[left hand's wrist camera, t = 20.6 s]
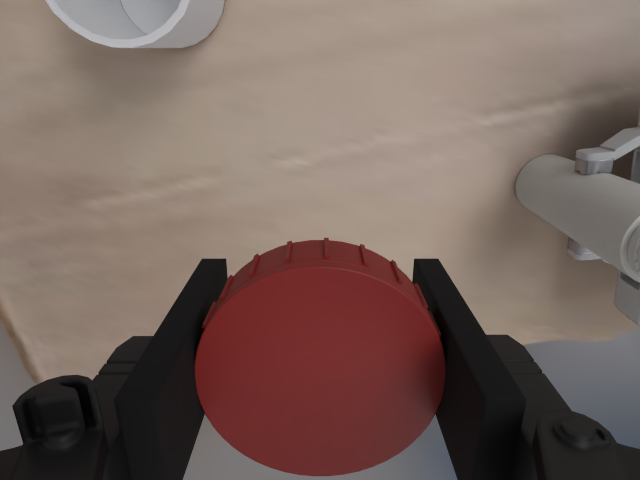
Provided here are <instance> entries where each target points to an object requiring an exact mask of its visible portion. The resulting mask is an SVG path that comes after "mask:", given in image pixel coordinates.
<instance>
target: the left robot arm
mask: <svg viewBox="0 0 640 480" xmlns="http://www.w3.org/2000/svg"><path fill="white" fill-rule="evenodd" d="M227 280H228V278H227V265H226V259H202V260H201V261H200V263H199V265H198V266H197V268H196V269H195V271H194V273H193V274H192V276H191V277H190V279H189V281H188V282H187V284H186V285H185V287H184V289H183V290H182V292H181V293H180V295H179V296H178V298H177V300H176V301H175V303H174V304H173V306H172V308H171V309H170V311H169V312H168V314H167V316H166V317H165V319H164V320H163V322H162V324H161V325H160V327H159V328H158V330H157V331H156V333H155V335H154V336H133V337H131V338H130V339H128V340H127V341H126V342H124V343H123V344H121V345H120V346H118V347H117V348H116V349H115V351H114V352H113V353H112V355H111V356H110V358H109V359H108V360H107V364H104V366H103V367H102V368H101V370H100V371H99V375H96V377H95V378H94V379H93V381H92V380H91V379H90V378H88V377H84V376H80V375H68V376H60V377H57V378H53V379H49V380H46V381H44V382H42V383H40V384H38V385H36V386H33V387H32V388H30V389H29V390H28V391H26V392H25V393H23V394H22V395H21V396H20V397H19V398H18V399H17V401H16V402H15V403H14V405H13V410H14V413H15V417H16V420H17V424H18V427H19V430H20V434H21V437H22V441H23V445H22V446H19V447H15V448H11V449H7V450H3V451H0V480H183V477H184V474H185V471H186V468H187V465H188V462H189V459H190V456H191V453H192V450H193V447H194V444H195V441H196V438H197V435H198V432H199V429H200V426H201V423H202V420H203V417H204V414H205V412H204V410H203V408H202V406H201V404H200V401H199V397H198V394H197V387H196V379H195V367H194V364H195V357H196V351H197V347H198V344H199V341H200V338H201V335H202V333H203V331H204V328H202V325H203V323H204V320H205V318H206V316H207V314H208V312H209V310H210V307H211V305H212V303H213V301H214V302H217V300H218V298H219V296H220V294H221V293H222V291H223V289H224V286H225V284H226V282H227ZM412 283H413V284H416V283H417V284H418V286H419V288H420V290H421V292H422V295H423V297H424V299H425V301H426V303H427V305H428V308H427V310H428V311H431V313H432V315H433V317H434V319H435V321H436V323H437V326H438V328H439V330H440V332H441V334H442V338H440V340H441V342H442V345H443V349H444V354H445V358H446V374H445V382H444V391H443V396H442V400H441V403H440V405H439V407H438V410H437V412H436V417H437V420H438V423H439V425H440V429H441V431H442V434H443V437H444V440H445V443H446V446H447V449H448V452H449V455H450V458H451V461H452V464H453V467H454V470H455V473H456V476H457V479H458V480H640V449H637V448H633V447H628V446H625V445H621V444H618V443H617V442H616V441H615V439H614V438H613V436H612V435H611V433H610V432H609V431H608V430H607V429H605V428H604V427H603V426H602V425H601V424H599V423H598V422H597V421H595V420H593V419H591V418H589V417H587V416H585V415H583V414H579V413H576V412H573V411H571V409H570V408H569V407H568V405H567V404H566V403H565V401H564V400H563V399H562V397H561V396H560V394H559V393H558V392H557V390H556V389H555V388H554V386H553V385H552V384H551V382H550V381H549V380H548V378H547V377H546V376H545V374H542V370H541V369H540V367H539V366H538V365H537V363H536V362H534V360H533V358H532V357H531V355H530V354H529V353H528V351H527V350H526V349H525V347H524V346H523V345H521V344H520V343H518V342H517V341H515V340H514V339H513V338H511V337H510V336H508V335H486V334H485V333H484V331H483V329H482V328H481V326H480V325H479V323H478V321H477V320H476V318H475V317H474V315H473V314H472V312H471V310H470V309H469V307H468V306H467V304H466V302H465V301H464V299H463V298H462V296H461V294H460V293H459V291H458V290H457V288H456V286H455V285H454V283H453V282H452V280H451V278H450V277H449V275H448V274H447V272H446V271H445V269H444V267H443V266H442V264H441V263H440V261H439V259H414V269H413V281H412Z"/></svg>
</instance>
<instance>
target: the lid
mask: <svg viewBox="0 0 640 480" xmlns="http://www.w3.org/2000/svg"><path fill="white" fill-rule="evenodd" d="M427 308H428V305H427V303H426V301H425V299H424V297H423V295H422V292H421V290H420V288H419V286H418V284H417V283H416V284H413V283H412V282H411V280H410V279H409V278H408V277H407V276H406V275H405V274H404V273H403V272H402V271H401V270H400V269H399V268H398V267H397V265H396V262H395V261H393V260H392V261H391V262H390V261H389V260H387V259H386V258H384V257H382V256H380V255H378V254H377V253H375V252H373V251H371V250H368V249H365V246H364V245H362V244H360V246H357V245H353V244H349V243H345V242H339V241H330V240H329V238H324V240H309V241H302V242H295V243H292V241H289V242H287V245H284V246H280V247H278V248H275V249H273V250H270V251H268V252H265V253H264V254H262V255H260V256H259V255H258V254H256V255H255V256H254V258H253V260H252V261H250V262H249V263H248V264H247V265H245V266H244V267H243V268H241V269H240V270H239V271H238V272H237V273H236V274H235V275H234V276H232V275H230V276H229V278H228V280H227V282H226V284H225V286H224V289H223V291H222V293H221V294H220V296H219V298H218V300H217V302H214V301H213V303H212V305H211V307H210V310H209V312H208V314H207V316H206V318H205V320H204V323H203V325H202V328H204V331H203V333H202V335H201V338H200V341H199V344H198V347H197V351H196V357H195V364H194V367H195V379H196V387H197V394H198V397H199V401H200V404H201V406H202V408H203V410H204V412H205V414H206V416H207V418H208V419H209V421H210V422H211V424H212V426H213V427H214V428H215V429H216V431H217V432H218V433H219V434H220V435H221V436H222V438H224V439H225V440H226V441H227V442H228V443H229V444H230V445H231V446H232V447H234V448H235V449H237V450H238V451H239V452H241V453H242V454H244V455H245V456H247V457H249V458H251V459H252V460H254V461H256V462H258V463H260V464H263V465H265V466H268V467H270V468H273V469H277V470H280V471H283V472H287V473H293V474H298V475H307V476H333V475H343V474H348V473H353V472H358V471H361V470H364V469H367V468H370V467H373V466H376V465H378V464H380V463H382V462H385V461H387V460H388V459H390V458H392V457H394V456H395V455H397V454H399V453H400V452H401V451H403V450H404V449H405V448H407V447H408V446H409V445H411V444H412V443H413V442H414V441H415V440H416V439H417V438H418V437H419V436H420V435H421V434H422V433H423V431H424V430H425V429H426V428H427V426H428V425H429V424H430V422H431V420H432V419H433V417H434V415H435V414H436V412H437V410H438V407H439V405H440V403H441V400H442V396H443V391H444V382H445V374H446V358H445V354H444V349H443V345H442V342H441V340H440V338H442V334H441V332H440V330H439V328H438V326H437V323H436V321H435V319H434V317H433V315H432V313H431V311H428V310H427Z"/></svg>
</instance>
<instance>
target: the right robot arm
mask: <svg viewBox="0 0 640 480" xmlns="http://www.w3.org/2000/svg"><path fill="white" fill-rule="evenodd" d="M632 150H634V155H633V162H632V170H631V177H630V181H632V182H635V183H638V184H640V110H639V117H638V125H637V127H634V128H626V129H623V130H621V131H620V132H619V133H617V134H616V135H614V136H613V137H611V138H610V139H608V140H607V141H605V142H604V143H602V144H601V145H600V147H596V148H587V149H579V150H577V151H576V160H575V171H576V172H580V173H581V174H585V175H592V174H596V173H598V172H600V173H611V172H612V167H613V160H614V161H615V160H616V159H618V158H620V157H622V156H623V155H625V154H627V153H628V152H630V151H632ZM567 254H568V255H569V256H571V257H572V258H573V259H575V260H581V261H584V260H594V259H600V260H602V261H604V262H606V261H605V260H603V259H602V258H600V257H599V256H597V255H596V254H594V253H593V252H591V251H590V250H588V249H587V248H585V247H584V246H582V245H581V244H579V243H578V242H576V241H575V240H573V239H572V238H570V237H569V239H568V248H567ZM606 263H608V262H606ZM614 305H615V306H616V308H617V309H618V310H620V311H621V312H622V313H623V314H624V315H625V316H626V317H628V318H629V319H630V320H631V321H633V322H634V323H636V324H637V325H639V326H640V282H637V281H635V280H634V279H632V278H630V277H629V276H627V275H626V274H624V273H623V272H621V271H620V270H618V274H617V281H616V289H615V295H614Z"/></svg>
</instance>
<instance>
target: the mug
mask: <svg viewBox="0 0 640 480" xmlns="http://www.w3.org/2000/svg"><path fill="white" fill-rule="evenodd" d="M45 1H46V2H47V3H48V5H49V6H50V8H51V9H52V11H53V12H54V13H55V14H56V15H57V16H58V17H59V18H60V19H61V20H62V21H63V22H64V23H65V24H66V25H67V26H68V27H69V28H71V29H72V30H73V31H75V32H77V33H78V34H80V35H82V36H84V37H85V38H87V39H89V40H90V41H93V42H96V43H99V44H103V45H106V46H109V47H113V48H185V47H189V46H192V45H196V44H197V43H199V42H201V41H202V40H204V39H205V38H207V37H208V36H209V35H210V34H211V32H212V31H213V30H214V29H215V28H216V27H217V25H218V22H219V20H220V18H221V16H222V14H223V10H224V5H225V0H45Z"/></svg>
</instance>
